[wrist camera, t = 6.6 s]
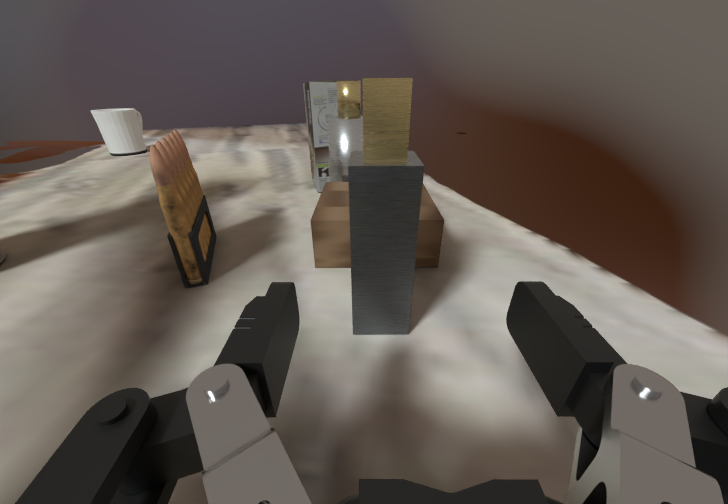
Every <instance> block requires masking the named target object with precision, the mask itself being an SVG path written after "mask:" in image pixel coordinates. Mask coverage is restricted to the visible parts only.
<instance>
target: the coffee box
mask: <svg viewBox="0 0 728 504" xmlns="http://www.w3.org/2000/svg"><path fill="white" fill-rule="evenodd" d="M303 86H304V97H305V108H306V119H307V129H308V140H309V150H310V160H311V170H312V179H313V182H314V184H315V186H316V189H317V191H318V192H322V190H323V188H324V185H325V183H326V182H331V177H330V161H329V144H328V128H327V118H328V117H333V116H338V102H337V81H336V80H334V81H333V80H332V81H318V82H306V83H303Z"/></svg>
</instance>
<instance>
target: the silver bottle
mask: <svg viewBox="0 0 728 504" xmlns="http://www.w3.org/2000/svg"><path fill="white" fill-rule="evenodd" d="M337 102H338V116H333V117H328V118H327V128H328V144H329V161H330V177H331V182H348V164H349V159H350V154H351V151H363V116H361V115H360V114H361V107H360V106H361V105H360V81H337Z"/></svg>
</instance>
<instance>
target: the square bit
mask: <svg viewBox="0 0 728 504" xmlns="http://www.w3.org/2000/svg"><path fill="white" fill-rule="evenodd" d="M412 79H413V78H363V151H351V154H350V159H349V164H348V182H349V215H350V248H351V281H352V315H353V334H409V325H410V314H411V303H412V292H413V282H414V271H415V260H416V249H417V238H418V228H419V217H420V206H421V195H422V185H423V174H424V165H423V163H422V162H421V161H420V159H419V158H418V157H417V155H416V154H415V152H414V151H408V140H409V126H410V110H411V95H412Z"/></svg>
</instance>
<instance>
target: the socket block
mask: <svg viewBox="0 0 728 504" xmlns="http://www.w3.org/2000/svg"><path fill="white" fill-rule="evenodd" d="M443 224H444V219H443V217H442V216H441V214H440V212H439V210H438V209H437V207H436V205H435V203H434V202H433V200H432V198H431V197H430V195H429V193H428V191H427V190H426V188H425V186H424V184H423V185H422V195H421V206H420V217H419V228H418V238H417V249H416V260H415V267H438V261H439V254H440V246H441V239H442V232H443ZM311 229H312V239H313V249H314V259H315V268H331V267H351V248H350V215H349V182H326V183H325V185H324V188H323V190H322V193H321V195H320V198H319V201H318V203H317V206H316V208H315V211H314V213H313V216H312V218H311Z"/></svg>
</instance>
